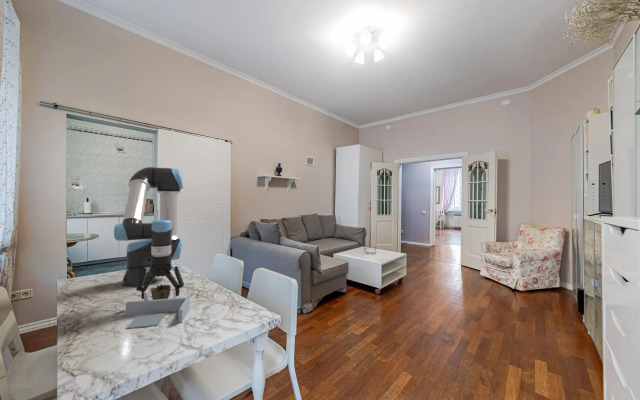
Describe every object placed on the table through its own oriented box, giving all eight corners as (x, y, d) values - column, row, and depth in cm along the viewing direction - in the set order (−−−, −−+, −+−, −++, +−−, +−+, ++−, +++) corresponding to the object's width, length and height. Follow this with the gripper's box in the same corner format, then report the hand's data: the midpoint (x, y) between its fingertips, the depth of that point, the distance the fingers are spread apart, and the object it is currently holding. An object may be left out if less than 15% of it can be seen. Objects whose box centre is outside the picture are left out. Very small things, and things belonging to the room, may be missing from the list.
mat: (138, 316, 100) (138, 315, 100) (166, 313, 103) (166, 312, 103) (126, 329, 91) (126, 327, 91) (157, 325, 93) (157, 324, 93)
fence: (127, 314, 102) (127, 302, 102) (189, 308, 108) (190, 296, 108) (110, 330, 90) (110, 316, 90) (182, 322, 96) (182, 309, 96)
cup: (158, 309, 106) (159, 291, 106) (146, 306, 109) (146, 288, 109) (174, 303, 113) (174, 285, 113) (162, 300, 116) (162, 283, 116)
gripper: (126, 258, 104) (126, 310, 104) (188, 255, 111) (187, 305, 111) (135, 254, 112) (134, 303, 112) (192, 252, 118) (191, 298, 118)
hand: (160, 304), depth 111 cm, fingers open, 11 cm apart
